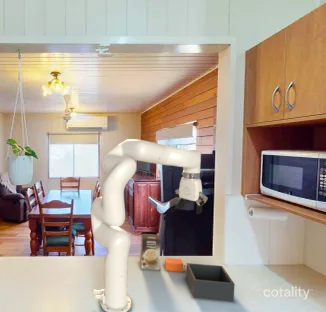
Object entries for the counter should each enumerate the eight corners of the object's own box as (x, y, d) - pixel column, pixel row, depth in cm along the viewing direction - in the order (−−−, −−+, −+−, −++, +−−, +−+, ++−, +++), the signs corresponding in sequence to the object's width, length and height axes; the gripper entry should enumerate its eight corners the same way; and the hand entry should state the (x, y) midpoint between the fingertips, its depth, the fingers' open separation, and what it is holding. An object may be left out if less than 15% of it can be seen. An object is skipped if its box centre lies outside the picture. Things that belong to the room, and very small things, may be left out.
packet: (166, 270, 122) (166, 262, 122) (164, 264, 127) (165, 257, 127) (185, 271, 121) (185, 264, 121) (182, 266, 126) (183, 259, 126)
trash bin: (193, 297, 102) (194, 280, 101) (186, 278, 116) (186, 263, 115) (233, 301, 100) (234, 284, 99) (221, 281, 113) (222, 265, 112)
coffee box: (141, 269, 123) (141, 238, 122) (139, 262, 130) (140, 233, 128) (159, 270, 123) (160, 239, 121) (157, 263, 129) (158, 234, 127)
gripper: (171, 173, 123) (170, 207, 125) (202, 179, 108) (201, 217, 110) (181, 172, 127) (180, 204, 128) (212, 178, 112) (211, 214, 114)
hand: (189, 210), depth 119 cm, fingers open, 9 cm apart
